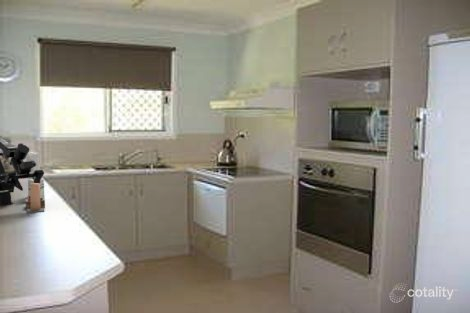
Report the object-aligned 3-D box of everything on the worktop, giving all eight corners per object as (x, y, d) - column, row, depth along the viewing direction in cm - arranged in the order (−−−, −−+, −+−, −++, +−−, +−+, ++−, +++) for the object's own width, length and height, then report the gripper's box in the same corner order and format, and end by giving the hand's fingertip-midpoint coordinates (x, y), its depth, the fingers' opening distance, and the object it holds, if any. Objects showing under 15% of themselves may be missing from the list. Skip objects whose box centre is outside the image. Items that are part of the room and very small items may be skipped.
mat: (27, 210, 241) (27, 209, 241) (44, 208, 244) (44, 207, 244) (26, 213, 234) (26, 211, 234) (44, 211, 237) (44, 210, 237)
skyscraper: (35, 197, 280) (33, 150, 278) (24, 197, 282) (22, 150, 280) (43, 195, 288) (41, 149, 286) (32, 195, 290) (30, 149, 287)
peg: (28, 209, 239) (28, 183, 238) (37, 208, 242) (36, 183, 242) (33, 210, 236) (33, 184, 235) (42, 209, 240) (41, 183, 239)
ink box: (36, 200, 269) (35, 180, 268) (28, 200, 270) (27, 180, 269) (45, 198, 278) (44, 178, 277) (37, 198, 279) (36, 178, 278)
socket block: (26, 206, 252) (26, 198, 252) (44, 205, 255) (44, 197, 255) (26, 209, 244) (25, 201, 243) (45, 207, 247) (44, 200, 247)
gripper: (6, 156, 235) (18, 180, 229) (41, 154, 250) (54, 176, 244) (-1, 171, 241) (11, 195, 235) (34, 168, 255) (46, 190, 249)
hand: (31, 189), depth 240 cm, fingers open, 9 cm apart
